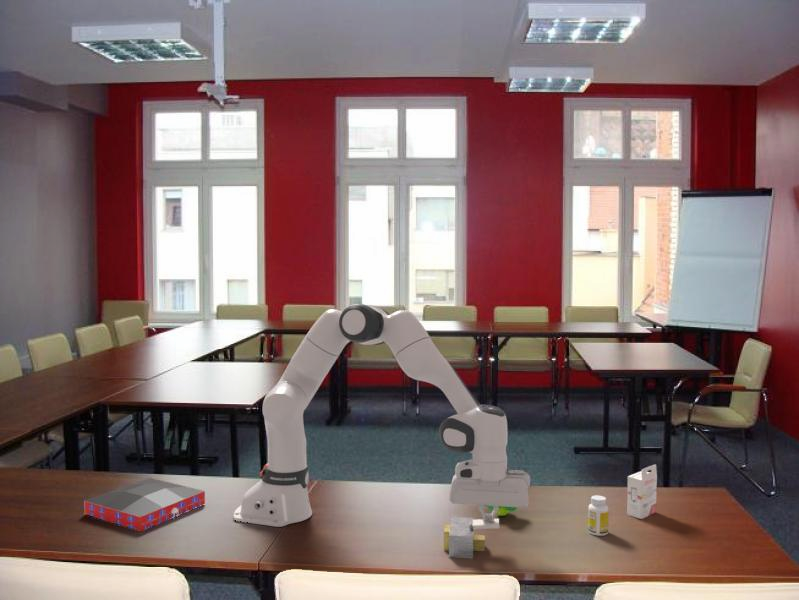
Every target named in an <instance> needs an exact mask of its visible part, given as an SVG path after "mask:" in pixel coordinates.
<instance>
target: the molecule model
mask: <svg viewBox="0 0 799 600" xmlns="http://www.w3.org/2000/svg"><path fill="white" fill-rule="evenodd" d="M486 507H487V508H488V509H489V510H491V511H493V506H486ZM517 509H518V507H504V506H499V510H498V512H497V513H496V515H497V516H500V517H503V516H506V515H507V514H508V513H509V511H510V512H513V511H516V510H517Z"/></svg>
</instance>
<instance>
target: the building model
mask: <svg viewBox="0 0 799 600" xmlns="http://www.w3.org/2000/svg"><path fill="white" fill-rule="evenodd" d="M205 495H206V493H205V490H202V489H199V488H194V487H190V486H185V485H181V484H178V483H172V482H168V481H164V480H160V479H156V478H152V477H148V478H146V479H145V478H144V479H142V480H139V481H137V482H135V483H131V484H128V485H125V486H122V487H118V488H116V489H114V490H110V491H108V492H105V493H102V494H99V495H96V496H93V497H90V498H87V499H84V500H83V506H84V507H83V509H84V515H85V514H87V515H90V516H94V517H96V518H100V519H104V520H106V521H109V522H113V523H116V524H120V525H123V526H126V527H129V528H128V529H130V528H133V529H136V530H139V531H142V530H144V529H146V528H148V527H151V526H154V525H156V524H158V523H161V522H163V521H165V520H168V519H170V518H172V517H175V516H176V515H178V516H179V514H181V513H184V512H186V511H188V510H191V509H193V508H195V507H198V506H200V505H203V504H205V505H206V498H205ZM203 506H204V505H203ZM178 516H177V517H178ZM179 517H180V516H179ZM96 518H95V519H96ZM175 518H176V517H175ZM172 519H173V518H172ZM170 520H171V519H170ZM106 521H105V522H106ZM168 521H169V520H168ZM109 522H108V523H109ZM165 522H166V521H165ZM163 523H164V522H163ZM116 524H115V525H116ZM161 524H162V523H161ZM120 525H119V526H120ZM156 526H157V525H156ZM126 527H125V528H126ZM154 527H155V526H154ZM151 528H152V527H151ZM133 529H132V530H133ZM136 530H135V531H136ZM146 530H147V529H146ZM139 531H138V532H139ZM144 531H145V530H144ZM142 532H143V531H142Z"/></svg>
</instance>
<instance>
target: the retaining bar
mask: <svg viewBox="0 0 799 600" xmlns="http://www.w3.org/2000/svg"><path fill="white" fill-rule="evenodd" d="M469 528H470V529H474V530H487V529H489V530H490V529H491V530H492V529H500V518H494V522H483V518H482V519H479V518H478V519H474V520H470V527H469Z"/></svg>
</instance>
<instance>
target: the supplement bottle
mask: <svg viewBox="0 0 799 600" xmlns="http://www.w3.org/2000/svg"><path fill="white" fill-rule="evenodd" d="M590 502H591V503H590V504H589V505H588V509H587V510H588V511H587V531H588V533H589V534H591V535H593V536H598V537H599V536H600V537H602V536H603V537H604V536H606V535H608V534H609V511H610V510H609V506H608V505H607V497H606V496H602V495H599V494H598V495H595V494H594V495H592V496H591V498H590Z"/></svg>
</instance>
